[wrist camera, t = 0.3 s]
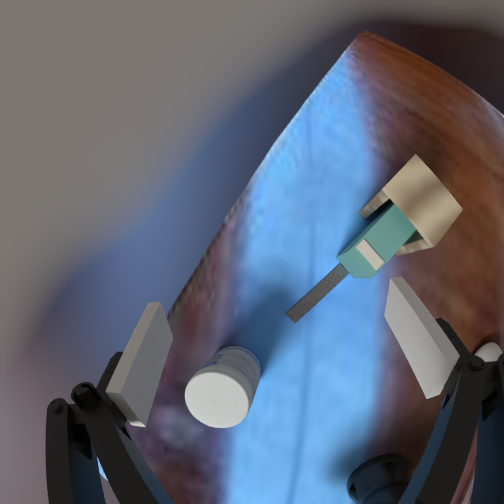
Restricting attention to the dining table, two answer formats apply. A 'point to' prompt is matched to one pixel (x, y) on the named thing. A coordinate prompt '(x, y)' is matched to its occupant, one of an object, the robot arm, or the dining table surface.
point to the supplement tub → (224, 387)
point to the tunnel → (418, 204)
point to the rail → (317, 293)
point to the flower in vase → (489, 352)
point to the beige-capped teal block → (377, 243)
